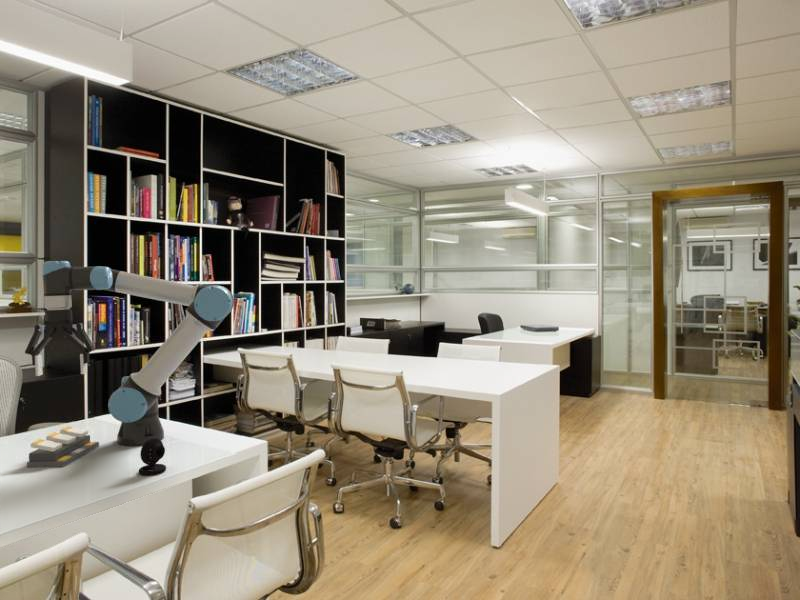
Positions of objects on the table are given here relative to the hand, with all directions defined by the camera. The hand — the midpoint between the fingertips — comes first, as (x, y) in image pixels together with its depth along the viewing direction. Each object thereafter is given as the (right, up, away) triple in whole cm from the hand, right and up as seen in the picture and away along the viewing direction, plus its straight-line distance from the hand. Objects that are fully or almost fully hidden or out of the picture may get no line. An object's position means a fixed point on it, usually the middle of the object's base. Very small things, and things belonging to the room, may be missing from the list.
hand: (61, 374), depth 180 cm
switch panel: (+1, -26, 0) cm, 27 cm away
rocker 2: (0, -21, 0) cm, 21 cm away
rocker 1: (0, -21, -8) cm, 22 cm away
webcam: (+36, -27, -15) cm, 47 cm away
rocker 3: (0, -20, +8) cm, 22 cm away
